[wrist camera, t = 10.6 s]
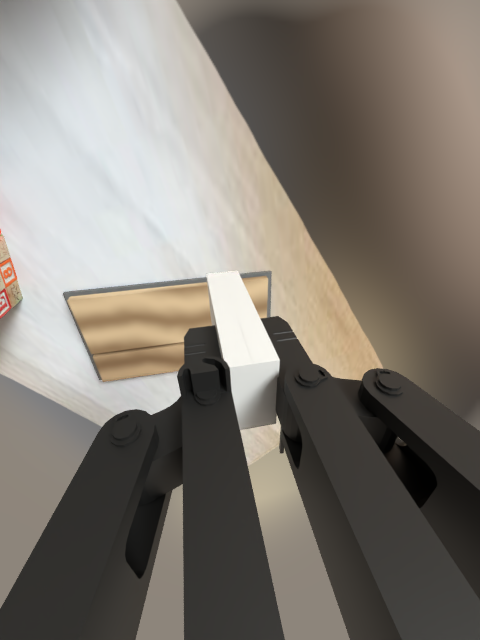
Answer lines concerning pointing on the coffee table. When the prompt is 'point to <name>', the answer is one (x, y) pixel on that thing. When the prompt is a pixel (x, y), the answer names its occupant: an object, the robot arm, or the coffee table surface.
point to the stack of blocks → (7, 280)
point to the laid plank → (140, 361)
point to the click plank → (151, 314)
